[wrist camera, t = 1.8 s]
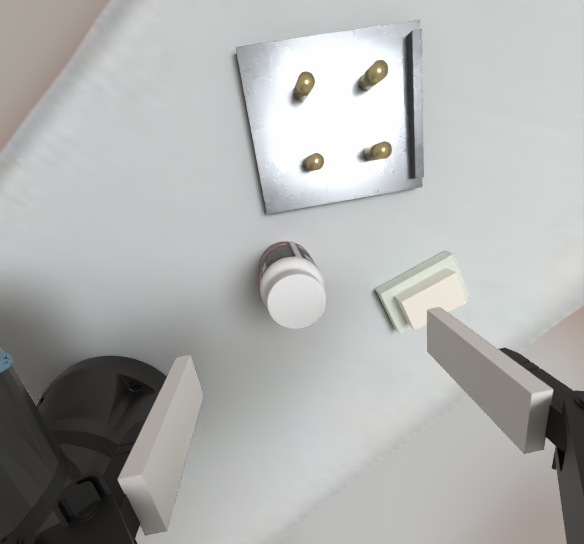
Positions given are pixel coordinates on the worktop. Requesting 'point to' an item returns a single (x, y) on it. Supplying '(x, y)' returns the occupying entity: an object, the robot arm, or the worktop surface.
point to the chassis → (336, 114)
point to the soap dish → (411, 280)
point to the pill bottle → (291, 286)
